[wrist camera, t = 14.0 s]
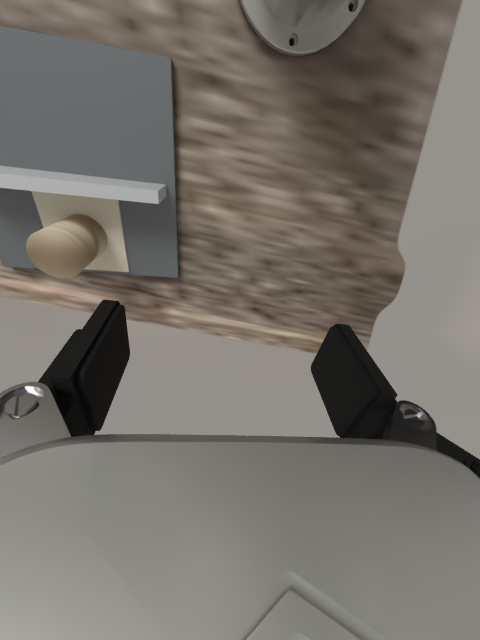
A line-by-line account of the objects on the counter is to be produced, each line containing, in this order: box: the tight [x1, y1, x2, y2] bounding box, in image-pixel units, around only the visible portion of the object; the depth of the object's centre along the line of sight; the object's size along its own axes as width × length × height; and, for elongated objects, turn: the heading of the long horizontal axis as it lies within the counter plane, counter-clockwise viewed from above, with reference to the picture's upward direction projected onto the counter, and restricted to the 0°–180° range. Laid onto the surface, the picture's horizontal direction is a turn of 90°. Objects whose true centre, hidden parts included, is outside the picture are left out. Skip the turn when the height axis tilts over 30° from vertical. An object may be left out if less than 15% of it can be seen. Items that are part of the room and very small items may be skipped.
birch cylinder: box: [26, 214, 107, 279], centre depth 27 cm, size 5×5×7 cm
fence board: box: [0, 26, 179, 278], centre depth 25 cm, size 22×22×6 cm
